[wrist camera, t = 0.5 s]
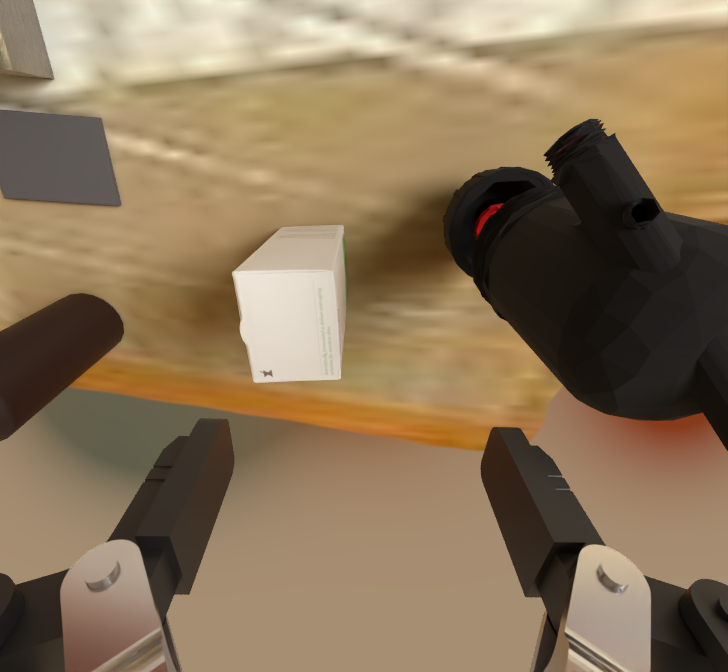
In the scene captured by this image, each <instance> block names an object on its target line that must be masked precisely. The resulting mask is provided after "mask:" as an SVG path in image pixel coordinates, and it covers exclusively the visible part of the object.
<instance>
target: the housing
mask: <svg viewBox="0 0 728 672" xmlns="http://www.w3.org/2000/svg"><path fill="white" fill-rule="evenodd" d="M0 74H3V75H15V76H26V77H38V78H49V79H54V76H53V72H52V69H51V65H50V61H49V58H48V54H47V51H46V47H45V43H44V40H43V36H42V32H41V29H40V25H39V21H38V18H37V14H36V10H35V7H34V3H33V0H0Z"/></svg>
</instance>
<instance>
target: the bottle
mask: <svg viewBox="0 0 728 672" xmlns="http://www.w3.org/2000/svg"><path fill="white" fill-rule="evenodd" d="M123 333H124V329H123V323H122V320H121V318H120V316H119V314H118V313H117V312H116V311H115V309H114V308H113V307H112V306H111V305H109V304H108V303H107V302H105V301H104V300H102V299H100V298H98V297H95V296H93V295H88V294H83V293H82V294H71V295H69V296H66V297H64V298H62V299H60V300H59V301H57V302H55V303H53V304H51V305H49V306H47V307H45V308H44V309H42V310H40V311H38V312H36V313H34V314H32V315H31V316H29V317H27V318H25V319H23V320H21V321H19V322H17V323H16V324H14V325H12V326H10V327H8V328H6V329H4V330H3V331H1V332H0V441H2V440H4V439H7V438H8V437H9V436H11V435H12V434H13V433H14V432H15V431H16V430H18V429H19V428H20V427H21V426H22V425H24V424H25V423H26V422H27V421H28V420H29V419H31V418H32V417H33V416H34V415H35V414H36V413H37V412H39V411H40V410H41V409H42V408H43V407H44V406H46V405H47V404H48V403H49V402H50V401H52V400H53V399H54V398H55V397H56V396H57V395H58V394H60V393H61V392H62V391H63V390H64V389H65V388H67V387H68V386H69V385H70V384H71V383H73V382H74V381H75V380H76V379H77V378H79V377H80V376H81V375H82V374H83V373H84V372H86V371H87V370H88V369H89V368H90V367H91V366H93V365H94V364H95V363H96V362H97V361H98V360H100V359H101V358H102V357H103V356H104V355H105V354H107V353H108V352H109V351H110V350H111V349H112V348H114V347H115V346H116V345H117V344H118V343H119V342H120V341H121V339H122V336H123Z"/></svg>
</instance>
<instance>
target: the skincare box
mask: <svg viewBox="0 0 728 672" xmlns="http://www.w3.org/2000/svg"><path fill="white" fill-rule="evenodd" d="M232 277H233V280H234V286H235V292H236V297H237V303H238V309H239V314H240V320H241V322H240V334H241V337H242V339H243V341H244V343H245V344H246V349H247V354H248V359H249V363H250V368H251V373H252V377H253V381H254V382H255V383H263V382H284V381H308V380H337V379H341V364H342V353H343V342H344V331H345V319H346V310H347V279H346V262H345V245H344V226H343V225H318V226H292V227H281V228H280V229H279V230H278V231H277V232H276V233H275V234H274V235H272V236H271V237H270V238H269V239H268V240H267V241H266V242H265V243H264V244H263V245H262V246H260V247H259V248H258V249H257V250H256V251H255V252H254V253H253V254H252V255H251V256H250V257H248V258H247V259H246V260H245V261H244V262H243V263H242V264H241V265H240V266H239V267H238V268H236V269H235V270H234V271H233V272H232Z"/></svg>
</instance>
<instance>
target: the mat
mask: <svg viewBox="0 0 728 672" xmlns="http://www.w3.org/2000/svg"><path fill="white" fill-rule="evenodd" d="M0 187H1V189H2V192H3V195H4V197H5V198H14V199H29V200H43V201H58V202H72V203H87V204H101V205H116V206H119V205H121V201H120V196H119V192H118V188H117V184H116V179H115V175H114V171H113V167H112V162H111V158H110V154H109V149H108V145H107V141H106V137H105V132H104V128H103V124H102V119H101V118H95V117H83V116H71V115H58V114H46V113H34V112H22V111H10V110H0Z"/></svg>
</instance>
